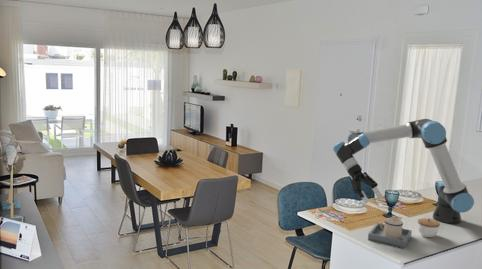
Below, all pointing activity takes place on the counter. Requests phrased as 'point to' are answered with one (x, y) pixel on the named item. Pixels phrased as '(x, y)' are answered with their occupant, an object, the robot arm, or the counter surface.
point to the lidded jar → (428, 227)
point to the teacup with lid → (392, 227)
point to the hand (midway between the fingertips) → (374, 200)
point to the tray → (378, 236)
